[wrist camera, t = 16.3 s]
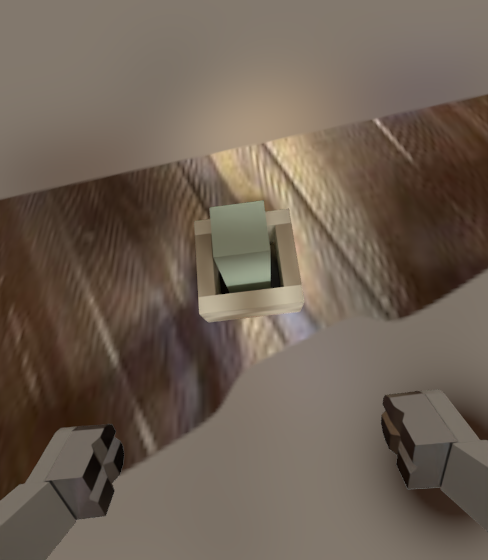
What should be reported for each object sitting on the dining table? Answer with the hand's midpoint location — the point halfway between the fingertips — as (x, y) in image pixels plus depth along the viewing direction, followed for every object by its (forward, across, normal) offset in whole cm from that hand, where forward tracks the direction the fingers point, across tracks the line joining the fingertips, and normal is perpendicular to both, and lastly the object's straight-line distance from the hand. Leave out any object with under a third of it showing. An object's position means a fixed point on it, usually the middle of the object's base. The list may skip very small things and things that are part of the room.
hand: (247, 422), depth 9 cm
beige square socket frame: (+22, 0, +6) cm, 23 cm away
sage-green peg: (+22, 0, +6) cm, 23 cm away
